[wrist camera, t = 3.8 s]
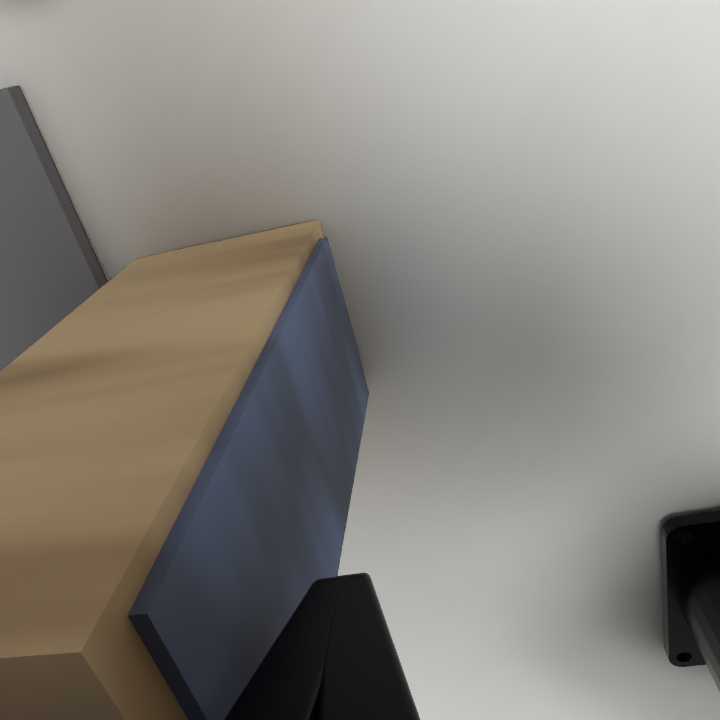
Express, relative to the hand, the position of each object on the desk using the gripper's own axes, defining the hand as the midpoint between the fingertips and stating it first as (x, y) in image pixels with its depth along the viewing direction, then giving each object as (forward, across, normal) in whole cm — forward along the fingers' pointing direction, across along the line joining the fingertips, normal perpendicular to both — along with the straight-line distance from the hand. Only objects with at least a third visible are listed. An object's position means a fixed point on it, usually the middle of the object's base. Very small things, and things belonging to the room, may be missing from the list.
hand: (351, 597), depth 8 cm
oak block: (+10, +3, 0) cm, 10 cm away
